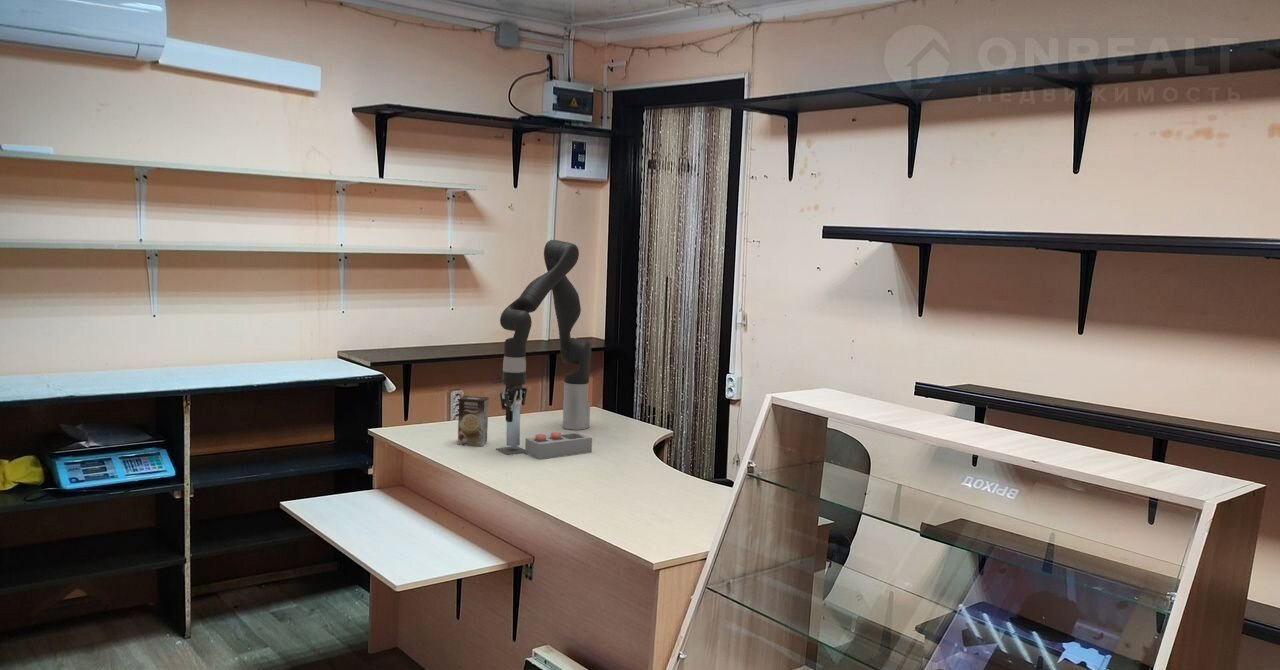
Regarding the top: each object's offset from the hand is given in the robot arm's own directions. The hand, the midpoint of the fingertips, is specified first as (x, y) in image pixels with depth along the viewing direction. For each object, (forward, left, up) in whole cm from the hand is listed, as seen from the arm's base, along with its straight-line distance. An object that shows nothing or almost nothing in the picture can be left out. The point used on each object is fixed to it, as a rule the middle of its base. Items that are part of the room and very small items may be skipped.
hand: (513, 420), depth 308 cm
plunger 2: (-12, +9, -9) cm, 17 cm away
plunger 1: (-5, +9, -9) cm, 14 cm away
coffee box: (+7, -15, -11) cm, 20 cm away
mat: (0, 0, -11) cm, 11 cm away
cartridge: (0, 0, -8) cm, 8 cm away
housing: (-13, +9, -11) cm, 19 cm away
